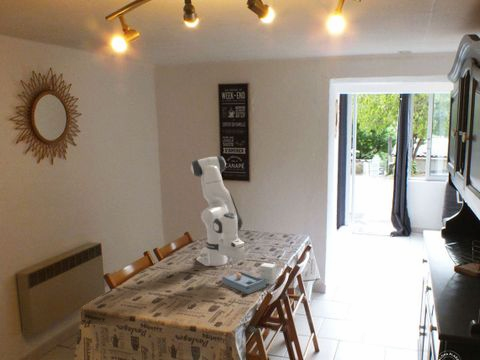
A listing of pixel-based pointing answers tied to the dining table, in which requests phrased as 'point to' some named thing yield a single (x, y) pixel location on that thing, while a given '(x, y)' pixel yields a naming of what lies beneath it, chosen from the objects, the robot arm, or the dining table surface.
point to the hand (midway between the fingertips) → (231, 263)
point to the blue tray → (245, 282)
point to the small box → (268, 273)
